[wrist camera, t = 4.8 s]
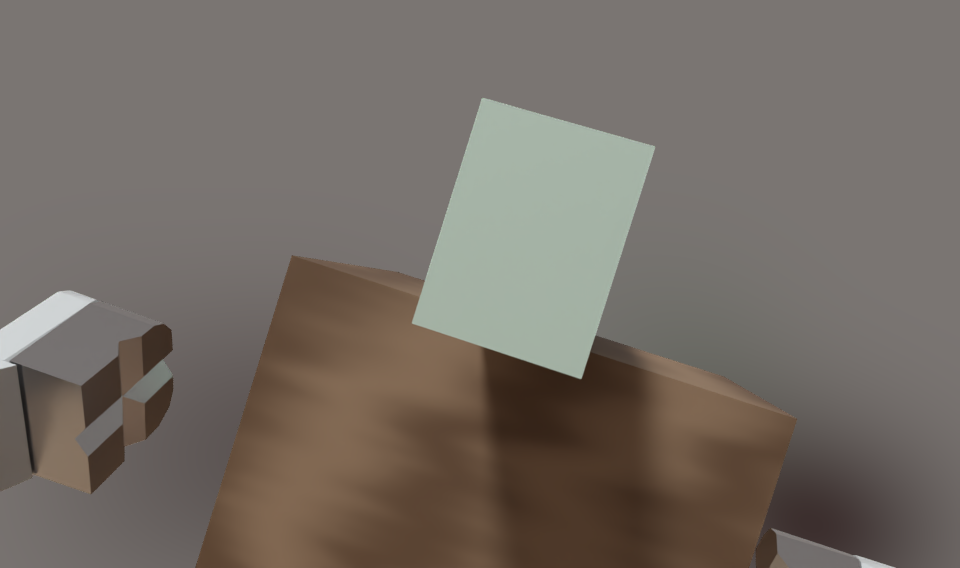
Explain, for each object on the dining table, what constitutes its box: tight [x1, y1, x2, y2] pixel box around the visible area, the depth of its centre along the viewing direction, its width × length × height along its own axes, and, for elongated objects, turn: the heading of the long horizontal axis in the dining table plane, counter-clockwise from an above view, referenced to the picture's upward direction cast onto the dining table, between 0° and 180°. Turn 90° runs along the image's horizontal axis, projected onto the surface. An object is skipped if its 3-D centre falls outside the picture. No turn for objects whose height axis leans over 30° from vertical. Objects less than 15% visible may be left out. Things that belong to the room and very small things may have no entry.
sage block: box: [412, 98, 655, 379], centre depth 24 cm, size 3×21×4 cm, turn 172°
